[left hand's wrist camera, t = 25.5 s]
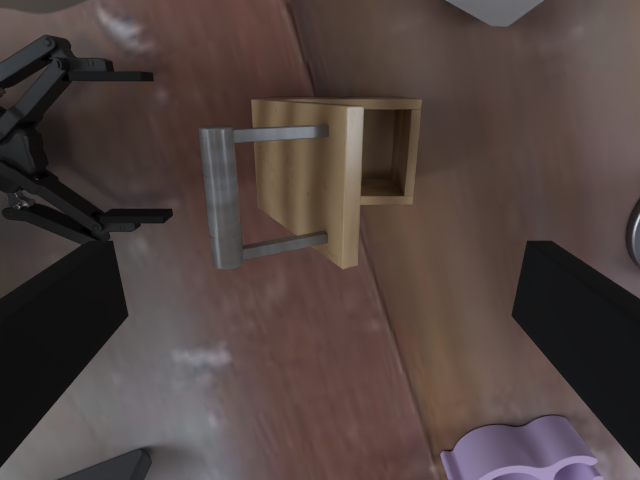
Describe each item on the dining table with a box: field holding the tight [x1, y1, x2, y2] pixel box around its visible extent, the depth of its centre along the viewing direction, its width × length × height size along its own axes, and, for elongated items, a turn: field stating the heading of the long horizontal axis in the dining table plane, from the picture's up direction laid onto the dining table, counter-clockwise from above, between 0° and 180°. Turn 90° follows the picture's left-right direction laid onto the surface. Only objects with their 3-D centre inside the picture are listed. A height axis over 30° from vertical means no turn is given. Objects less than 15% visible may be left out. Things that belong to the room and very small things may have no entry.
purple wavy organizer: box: [440, 416, 603, 480], centre depth 58 cm, size 20×12×7 cm, turn 116°
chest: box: [263, 97, 422, 205], centre depth 40 cm, size 15×10×9 cm
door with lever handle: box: [198, 99, 364, 270], centre depth 28 cm, size 16×10×9 cm
